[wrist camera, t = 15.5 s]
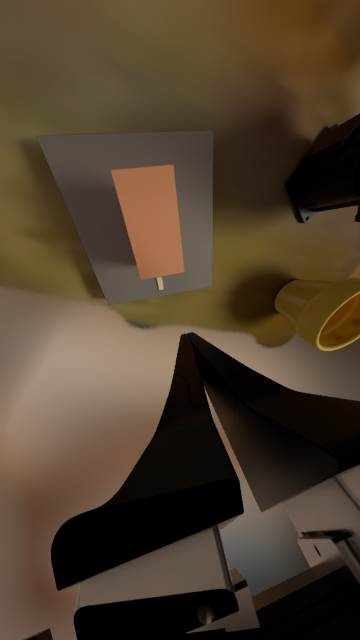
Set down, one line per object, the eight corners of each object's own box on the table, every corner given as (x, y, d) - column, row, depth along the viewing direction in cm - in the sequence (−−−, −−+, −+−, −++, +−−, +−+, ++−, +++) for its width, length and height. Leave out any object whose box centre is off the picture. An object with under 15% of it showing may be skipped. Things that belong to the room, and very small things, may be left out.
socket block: (203, 146, 14) (214, 128, 12) (205, 282, 21) (212, 287, 19) (55, 153, 12) (34, 134, 10) (112, 298, 20) (108, 306, 17)
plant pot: (259, 291, 24) (317, 317, 16) (314, 255, 23) (407, 264, 15) (269, 328, 30) (317, 362, 21) (314, 301, 28) (383, 326, 20)
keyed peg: (168, 258, 19) (184, 272, 11) (143, 263, 18) (140, 279, 11) (160, 201, 15) (173, 164, 8) (128, 205, 15) (110, 169, 7)
